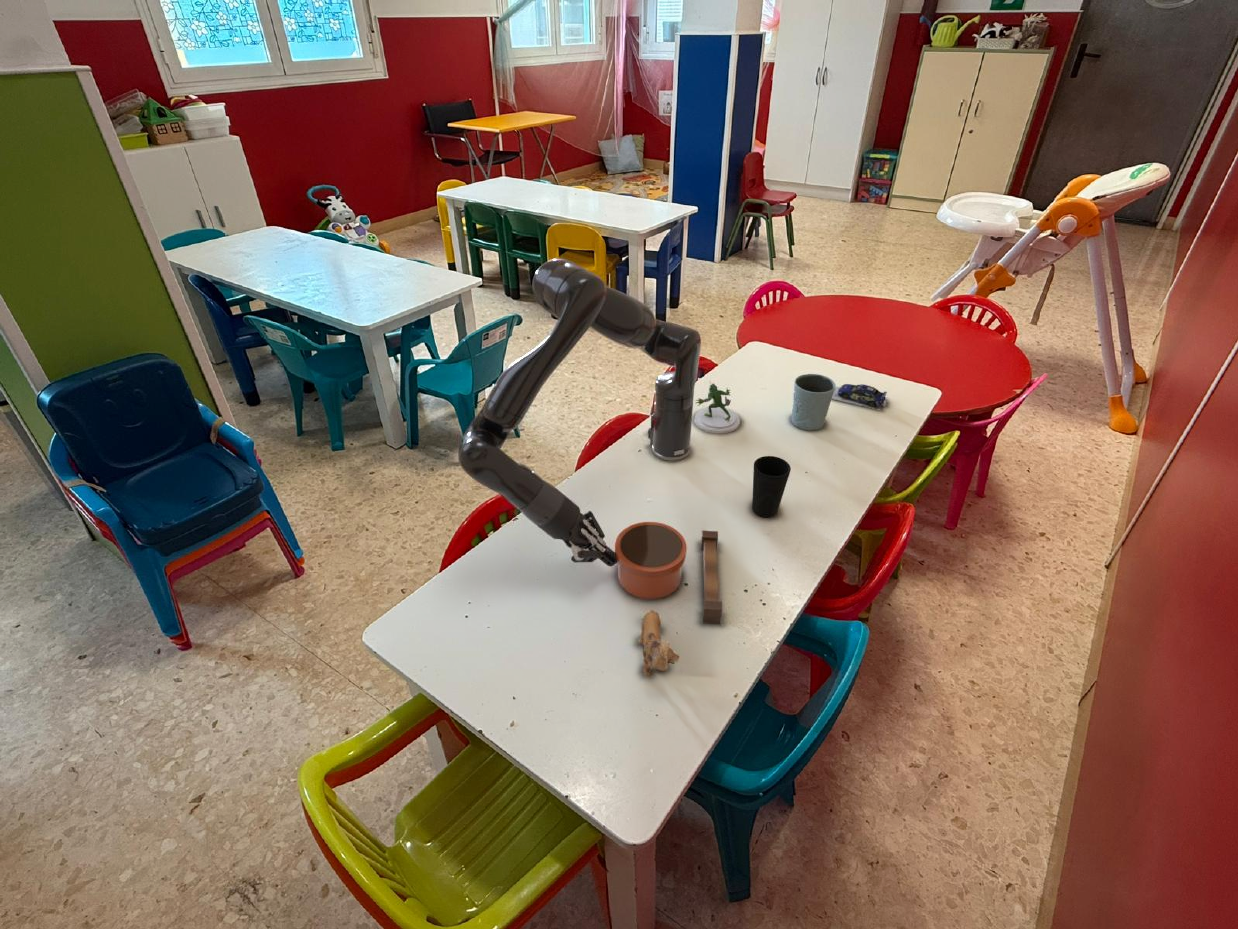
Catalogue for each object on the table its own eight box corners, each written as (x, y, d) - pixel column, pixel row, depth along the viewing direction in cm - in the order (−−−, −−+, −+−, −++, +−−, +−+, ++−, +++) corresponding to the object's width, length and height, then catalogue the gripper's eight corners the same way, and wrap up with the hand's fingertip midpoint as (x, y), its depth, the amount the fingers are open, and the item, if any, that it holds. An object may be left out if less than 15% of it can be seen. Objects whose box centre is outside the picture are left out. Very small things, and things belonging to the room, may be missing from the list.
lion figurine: (679, 687, 104) (683, 652, 99) (648, 693, 103) (650, 659, 98) (655, 618, 116) (657, 584, 110) (627, 624, 115) (627, 590, 109)
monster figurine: (720, 405, 177) (724, 372, 170) (748, 425, 168) (753, 391, 162) (685, 417, 172) (688, 384, 166) (713, 438, 163) (716, 404, 157)
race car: (828, 398, 179) (831, 384, 177) (833, 388, 184) (837, 374, 181) (883, 411, 174) (888, 397, 171) (887, 400, 178) (891, 386, 176)
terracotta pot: (616, 602, 119) (616, 572, 114) (613, 552, 130) (613, 522, 125) (688, 600, 119) (691, 569, 114) (679, 549, 130) (681, 520, 125)
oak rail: (720, 624, 115) (722, 610, 112) (702, 622, 115) (704, 608, 113) (716, 544, 131) (717, 531, 129) (700, 543, 131) (702, 530, 129)
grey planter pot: (831, 419, 170) (840, 379, 163) (819, 436, 164) (828, 396, 157) (795, 408, 175) (802, 370, 168) (782, 425, 168) (789, 385, 161)
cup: (782, 523, 137) (791, 479, 129) (746, 518, 138) (753, 474, 131) (782, 501, 143) (790, 457, 136) (747, 496, 144) (754, 453, 137)
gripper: (556, 522, 109) (625, 578, 115) (568, 476, 119) (631, 529, 126) (528, 543, 112) (597, 596, 119) (542, 496, 123) (605, 547, 129)
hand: (614, 561), depth 122 cm, fingers closed
